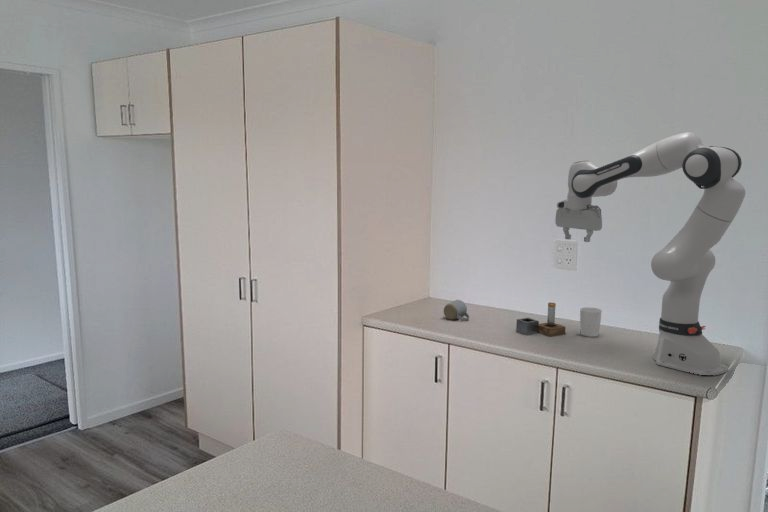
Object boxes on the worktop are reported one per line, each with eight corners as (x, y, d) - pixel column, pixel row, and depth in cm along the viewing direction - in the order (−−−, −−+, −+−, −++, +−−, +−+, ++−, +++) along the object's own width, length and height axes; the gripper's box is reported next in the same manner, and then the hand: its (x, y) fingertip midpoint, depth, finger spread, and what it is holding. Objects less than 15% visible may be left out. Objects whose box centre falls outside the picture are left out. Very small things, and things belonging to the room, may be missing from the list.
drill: (555, 333, 232) (557, 303, 230) (550, 334, 230) (551, 304, 229) (550, 331, 234) (551, 302, 232) (545, 332, 233) (546, 303, 231)
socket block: (538, 333, 232) (538, 320, 231) (526, 335, 229) (527, 322, 228) (527, 329, 237) (528, 317, 236) (516, 331, 234) (516, 319, 234)
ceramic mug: (442, 318, 254) (442, 301, 253) (452, 315, 261) (452, 298, 259) (463, 323, 248) (463, 305, 247) (473, 319, 254) (473, 302, 253)
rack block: (565, 334, 231) (565, 326, 230) (550, 336, 227) (550, 329, 227) (550, 329, 238) (550, 322, 237) (535, 331, 234) (535, 324, 233)
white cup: (577, 335, 229) (578, 310, 227) (580, 330, 236) (582, 306, 234) (598, 338, 225) (600, 312, 224) (601, 333, 232) (603, 308, 231)
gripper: (607, 205, 215) (605, 243, 217) (565, 202, 233) (563, 237, 235) (595, 206, 212) (593, 244, 214) (553, 203, 230) (551, 238, 232)
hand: (577, 240), depth 225 cm, fingers open, 8 cm apart
